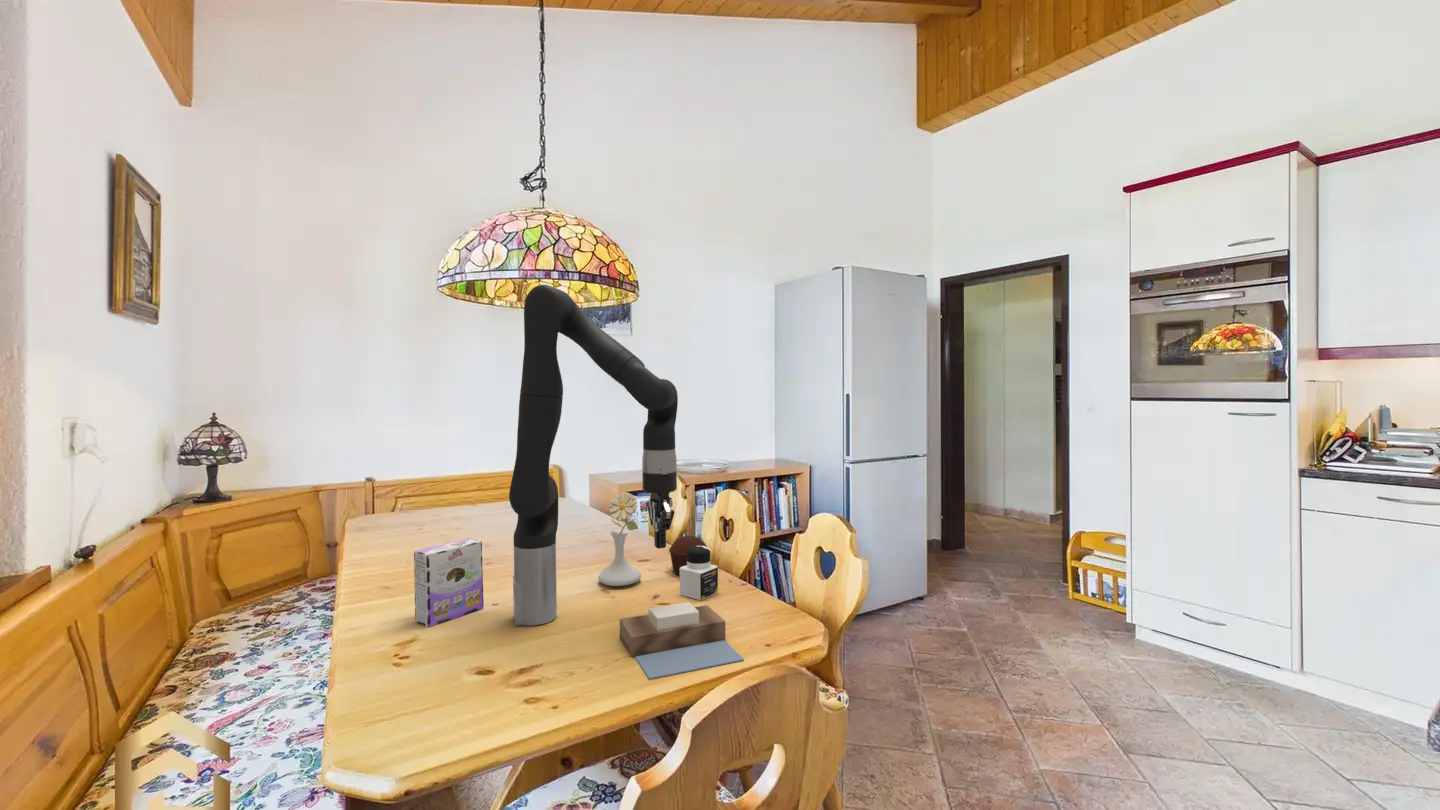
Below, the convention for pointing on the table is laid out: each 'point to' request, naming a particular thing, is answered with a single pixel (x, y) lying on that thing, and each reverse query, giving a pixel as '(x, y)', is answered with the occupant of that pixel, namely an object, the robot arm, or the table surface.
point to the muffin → (682, 551)
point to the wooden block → (670, 633)
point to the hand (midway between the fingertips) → (660, 547)
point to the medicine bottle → (698, 574)
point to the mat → (687, 659)
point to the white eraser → (673, 616)
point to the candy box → (448, 581)
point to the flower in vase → (621, 543)
